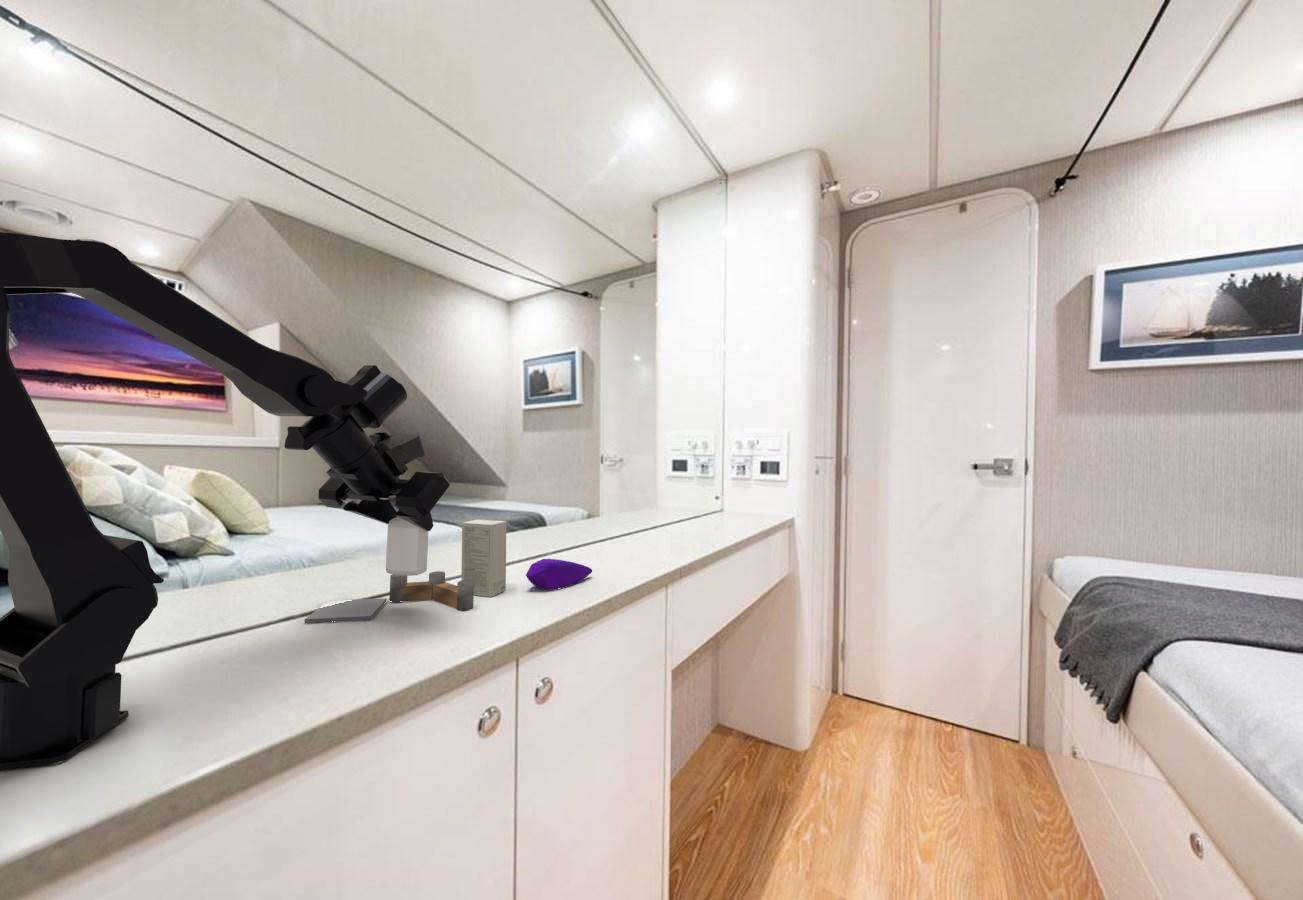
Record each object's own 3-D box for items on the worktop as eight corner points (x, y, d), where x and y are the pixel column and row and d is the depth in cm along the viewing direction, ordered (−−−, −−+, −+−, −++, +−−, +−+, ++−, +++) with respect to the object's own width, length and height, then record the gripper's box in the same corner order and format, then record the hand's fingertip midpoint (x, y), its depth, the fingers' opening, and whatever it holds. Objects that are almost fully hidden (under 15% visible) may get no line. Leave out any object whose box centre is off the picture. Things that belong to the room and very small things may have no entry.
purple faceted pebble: (601, 560, 90) (536, 564, 79) (598, 585, 90) (532, 593, 79) (584, 556, 93) (520, 559, 82) (582, 580, 93) (516, 587, 82)
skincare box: (506, 590, 81) (508, 520, 81) (490, 598, 77) (493, 524, 77) (475, 586, 83) (477, 518, 83) (458, 593, 78) (461, 521, 79)
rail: (377, 615, 67) (378, 587, 67) (392, 597, 75) (393, 572, 75) (472, 610, 71) (473, 583, 71) (477, 593, 79) (478, 570, 79)
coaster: (304, 623, 63) (304, 619, 63) (327, 604, 71) (327, 600, 71) (370, 620, 65) (371, 615, 65) (386, 602, 73) (386, 598, 73)
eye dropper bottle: (399, 579, 66) (402, 493, 66) (382, 571, 69) (386, 490, 69) (430, 573, 69) (433, 492, 69) (412, 567, 72) (416, 489, 73)
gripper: (442, 413, 63) (492, 490, 73) (342, 412, 69) (401, 484, 79) (389, 472, 55) (453, 550, 65) (282, 466, 61) (356, 537, 71)
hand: (415, 526), depth 70 cm, fingers closed on eye dropper bottle, 6 cm apart
